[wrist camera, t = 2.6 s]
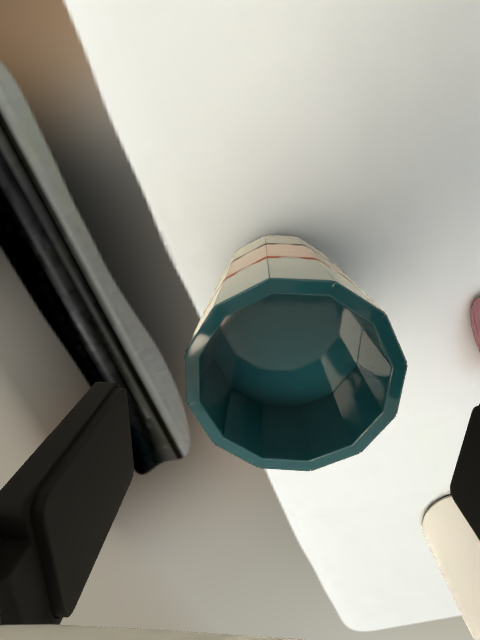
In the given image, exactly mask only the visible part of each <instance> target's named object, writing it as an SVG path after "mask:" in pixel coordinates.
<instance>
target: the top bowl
mask: <svg viewBox="0 0 480 640" xmlns="http://www.w3.org/2000/svg"><path fill="white" fill-rule="evenodd" d="M406 370H407V361H406V358H405V356H404V354H403V351H402V349H401V347H400V344H399V342H398V340H397V337H396V335H395V333H394V330H393V328H392V326H391V323H390V321H389V319H388V316H387V315H386V314H385V312H384V311H383V310H382V309H381V308H380V307H379V306H378V305H377V304H376V303H375V302H373V301H372V300H371V299H370V298H369V297H368V296H367V295H366V294H365V293H364V292H363V291H362V290H361V289H360V288H359V287H358V286H357V285H356V284H354V283H352V282H351V281H349V280H348V279H346V278H345V277H343V276H342V275H341V274H339V273H338V272H337V271H335V270H333V269H332V268H330V267H328V266H326V265H325V264H323V263H322V262H320V261H317V260H310V259H304V258H296V257H279V258H268V259H264V260H262V261H260V262H257V263H254V264H252V265H250V266H248V267H246V268H244V269H242V270H241V271H239V272H237V273H236V274H235V275H233V276H232V277H230V278H228V279H226V280H225V282H223V283H222V285H221V286H220V288H219V290H218V291H217V293H216V294H215V296H214V297H213V299H212V301H211V303H210V304H209V306H208V308H207V309H206V311H205V312H204V314H203V316H202V317H201V319H200V322H199V324H198V326H197V328H196V330H195V332H194V334H193V337H192V339H191V341H190V343H189V345H188V347H187V349H186V353H185V386H186V402H187V405H188V407H189V408H190V410H191V411H192V413H193V414H194V416H195V417H196V419H197V420H198V422H199V423H200V425H201V426H202V427H203V429H204V431H205V432H206V433H207V435H208V436H209V438H210V439H211V441H212V442H213V443H215V445H216V446H218V447H220V448H222V449H224V450H226V451H227V452H229V453H231V454H233V455H235V456H237V457H239V458H241V459H243V460H244V461H247V462H248V463H250V464H252V465H254V466H256V467H260V468H265V469H281V470H297V471H310V470H311V471H313V470H316V469H319V468H321V467H324V466H327V465H329V464H332V463H335V462H338V461H340V460H343V459H346V458H348V457H351V456H354V455H357V454H359V452H362V451H363V450H364V449H365V448H366V447H367V446H368V445H369V444H370V443H371V442H372V441H373V440H374V439H375V438H376V437H377V435H378V434H379V433H380V432H381V431H382V430H383V429H384V428H385V427H386V426H387V425H388V424H389V423H390V422H391V421H392V420H393V419H394V418H395V417H396V415H395V414H397V411H398V407H399V402H400V397H401V393H402V388H403V384H404V379H405V375H406Z"/></svg>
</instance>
